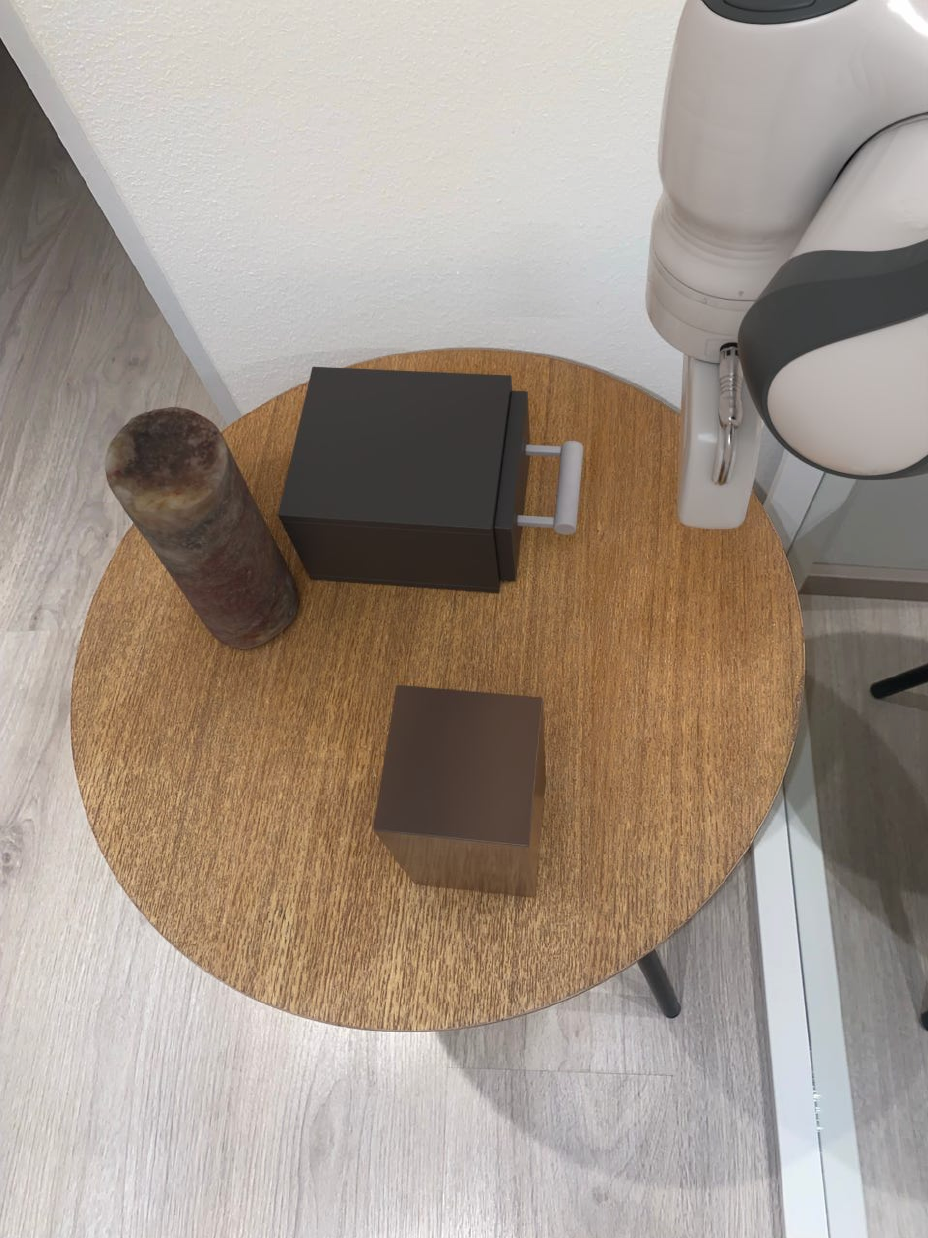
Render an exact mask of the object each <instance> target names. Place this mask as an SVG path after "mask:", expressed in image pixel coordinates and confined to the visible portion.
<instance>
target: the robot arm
mask: <svg viewBox="0 0 928 1238" xmlns="http://www.w3.org/2000/svg"><path fill="white" fill-rule="evenodd" d="M666 74H667V76H666V81H665V87H664V93H663V100H662V108H661V115H660V123H659V124H660V125H659V131H658V132H659V134H658V143H657V144H658V145H657V168H658V174H659V178H660V182H661V185H662V193H660V196H659V198H658V199H657V200H658V201H657V203H656V205H655V209H654V211H653V214H652V221H651V224H650V239H649V246H648V247H649V248H648V259H647V273H646V282H645V296H644V297H645V298H644V300H645V301H644V302H645V309H646V314H647V316H648V318H649V321H650V323H651V325H652V327H653V328H654V329H655V331H656V332H657V334H658V335H659V336H660V337H661V338H662V339H663V340H664V341H665V342H666V343H667V344H668V345H670V346H671V347H672V348H674V349H676V350H677V351H679V352H681V353H682V375H681V376H682V380H681V401H680V422H679V423H680V424H679V444H678V445H679V446H678V449H679V450H678V468H677V469H678V470H677V491H676V492H677V493H676V515H677V516H676V517H677V519H678V521H679V522H680V523H681V524H682V525H683V526H686V527H689V528H695V529H704V530H706V529H707V530H731V529H737V528H739V527H741V526H742V525H743V523H744V522H745V519H746V517H747V513H748V509H749V504H750V500H751V495H752V491H753V486H754V482H755V479H756V473H757V468H758V464H759V458H760V451H761V443H762V432H763V424H764V425H765V426H766V428H767V430H768V431H769V432H770V434H771V435H772V436H773V438H774V439H775V440H776V441H777V442H778V443H779V444H780V445H781V446H782V447H783V448H784V449H785V450H786V451H787V452H788V453H789V454H790V455H792V456H793V457H795V458H797V459H798V460H799V461H801V462H803V464H806V465H807V466H810V467H812V468H814V469H816V470H819V471H821V472H824V473H826V474H829V475H833V476H837V477H840V478H843V479H844V478H845V479H849V480H850V479H851V480H860V481H885V480H886V481H887V480H899V479H906V478H911V477H917V476H923V475H927V474H928V0H686V1H685V2H684V6H683V8H682V11H681V14H680V17H679V21H678V24H677V28H676V31H675V36H674V40H673V44H672V49H671V54H670V59H669V64H668V69H667V73H666Z"/></svg>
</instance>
